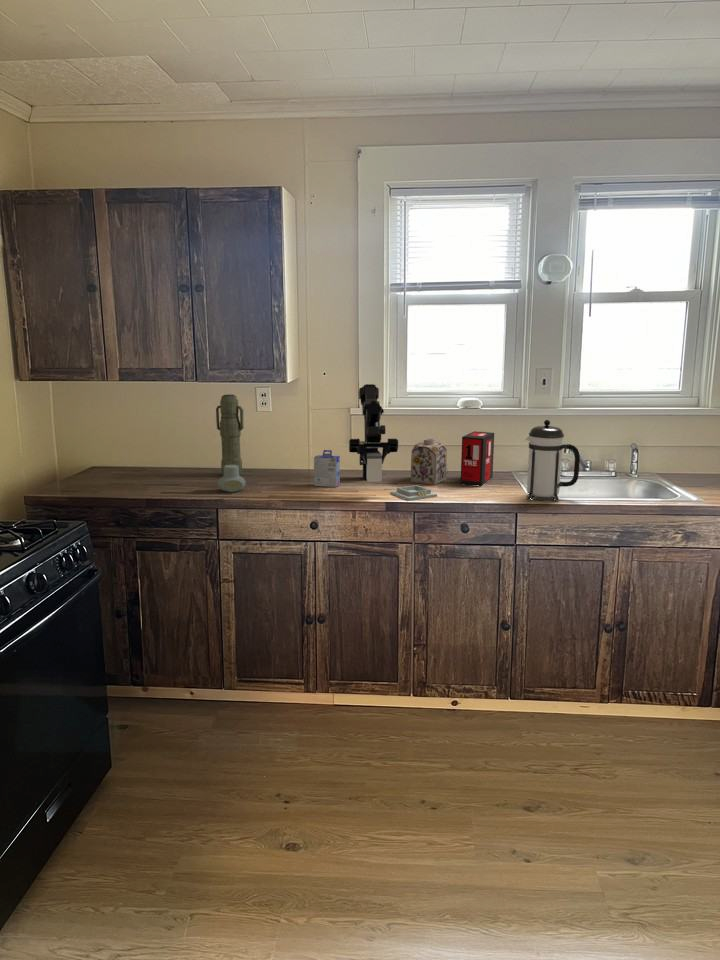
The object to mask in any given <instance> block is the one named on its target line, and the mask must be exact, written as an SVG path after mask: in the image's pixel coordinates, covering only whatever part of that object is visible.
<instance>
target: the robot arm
mask: <svg viewBox="0 0 720 960" xmlns="http://www.w3.org/2000/svg"><path fill="white" fill-rule="evenodd" d="M379 389H380V388H379V387H377V385H376V384H374V383H372V384H370V383H368V384H363V386H362V387H360V388H359V390H358V400H359V401H360V406H361V407H362V408H361V415H362V416H363V418H364V423H363V425H364V441H363V440H360V438H350V439H349V441H348V442H349V443H348V444H349V445H348V450H349V451H348V452H349V453H356V454H357V455H359V459H358V460H359V462H358V463H359V466H362V476H361V477H359V479H360V480H367V453H381V454H382V465H383V464H384V461H385V459H386V458H387V455H389V454H390V453H397V452H398V451H399V450H398V449H399V440H398V438H387V442H384V441H383V442H382V441H381V440H382V435H386V425H384V424H383V425H382V424H381V421H380V420H381V416H382V415H383V414H384V413H385V412H384V409H383V408H382V405H381V403H380V400H379V399H380V395H379V393H380V391H379ZM378 400H379V401H378ZM379 449H382V452H380V450H379Z"/></svg>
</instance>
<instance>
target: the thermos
mask: <svg viewBox="0 0 720 960" xmlns="http://www.w3.org/2000/svg"><path fill="white" fill-rule="evenodd" d="M219 409H220V410H219ZM220 415H221V416H220ZM215 418H216V419H215V421H216V430H218V431H219V436H220V437H221V462H220V467H221V477H223V476H224V466H226V465H238V466H239V476H241V477H242V475H243V471H242V470H243V461H242V457H241V434H242V432H241V431H243V429H244V428H245V427H244V409H243V407H242V406H241V405H239V400H238V397H237V395H235V394H222V396H221V398H220V403H219V405H217V406H216V408H215Z"/></svg>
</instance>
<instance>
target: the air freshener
mask: <svg viewBox="0 0 720 960" xmlns="http://www.w3.org/2000/svg"><path fill="white" fill-rule="evenodd" d="M246 484H247V481H246V479H245V478H244V477H242V475H241V476H239V466H238V465H226V466H224V476H221V477H220V478H219V479H218V482H217V486H218V488H219V489H220V490H221V491H224V492H225V493H226V492H227V493H237V492H239V491H241V490H242V489H244V488H245V487H246Z"/></svg>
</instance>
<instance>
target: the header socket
mask: <svg viewBox="0 0 720 960" xmlns="http://www.w3.org/2000/svg"><path fill="white" fill-rule="evenodd" d="M390 495H392V496H393V495H394V496H396V497H398V498H401V499H402V500H403V499H404V500H406V501H407V502H408V501H409V502H410V501H415V500H417V501H418V500H422V499H430V498H437V497H438V493H435V492H432V489H429V488H428V487H427V488H426V487H424V486H420V485H419V484H416V485H415V484H414V485H407V486H400V487H396V490H391V491H390Z"/></svg>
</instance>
